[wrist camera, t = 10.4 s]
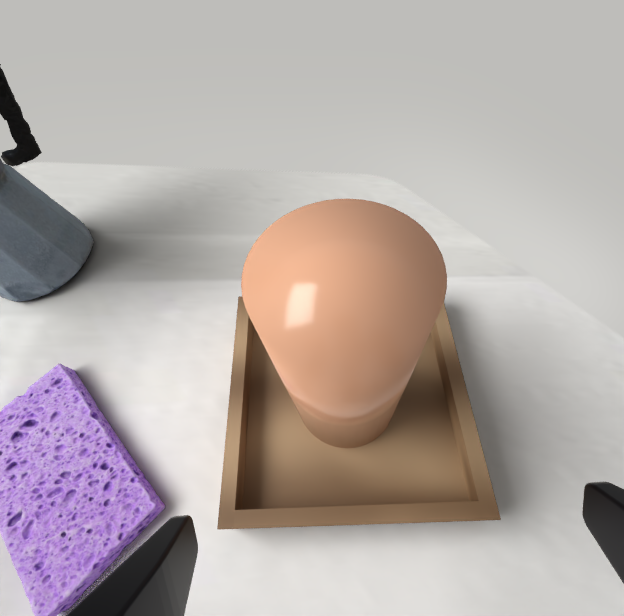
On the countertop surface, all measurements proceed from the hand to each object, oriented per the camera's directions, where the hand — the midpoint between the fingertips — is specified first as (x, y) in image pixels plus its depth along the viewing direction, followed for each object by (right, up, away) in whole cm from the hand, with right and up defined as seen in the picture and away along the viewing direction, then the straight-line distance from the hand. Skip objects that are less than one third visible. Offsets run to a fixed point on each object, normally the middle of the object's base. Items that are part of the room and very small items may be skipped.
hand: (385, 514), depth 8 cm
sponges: (-17, -6, +14) cm, 23 cm away
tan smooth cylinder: (0, -1, +14) cm, 14 cm away
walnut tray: (0, -1, +14) cm, 14 cm away
